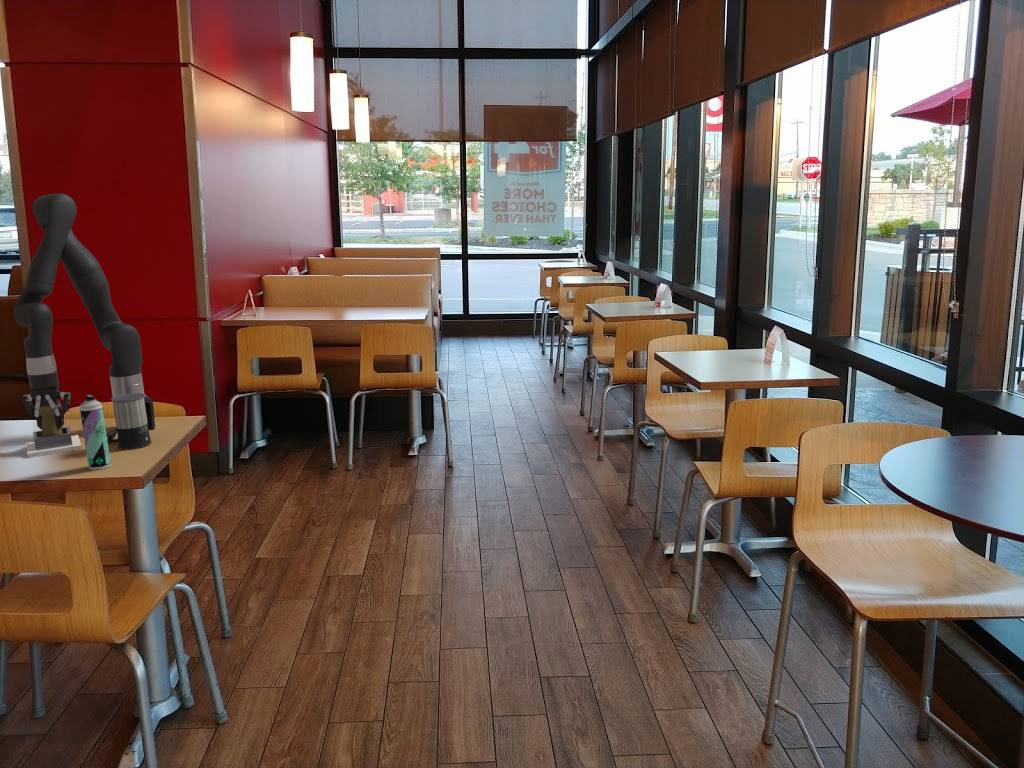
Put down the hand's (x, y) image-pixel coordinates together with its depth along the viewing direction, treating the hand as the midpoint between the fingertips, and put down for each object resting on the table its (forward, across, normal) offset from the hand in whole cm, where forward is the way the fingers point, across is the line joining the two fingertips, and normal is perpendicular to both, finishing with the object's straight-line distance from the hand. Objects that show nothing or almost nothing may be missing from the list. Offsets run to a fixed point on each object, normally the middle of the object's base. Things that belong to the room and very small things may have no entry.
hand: (51, 427), depth 267 cm
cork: (+4, 0, 0) cm, 4 cm away
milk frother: (+7, -21, 0) cm, 22 cm away
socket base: (+6, 0, 0) cm, 6 cm away
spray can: (+6, -22, +23) cm, 32 cm away
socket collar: (+5, 0, 0) cm, 5 cm away
